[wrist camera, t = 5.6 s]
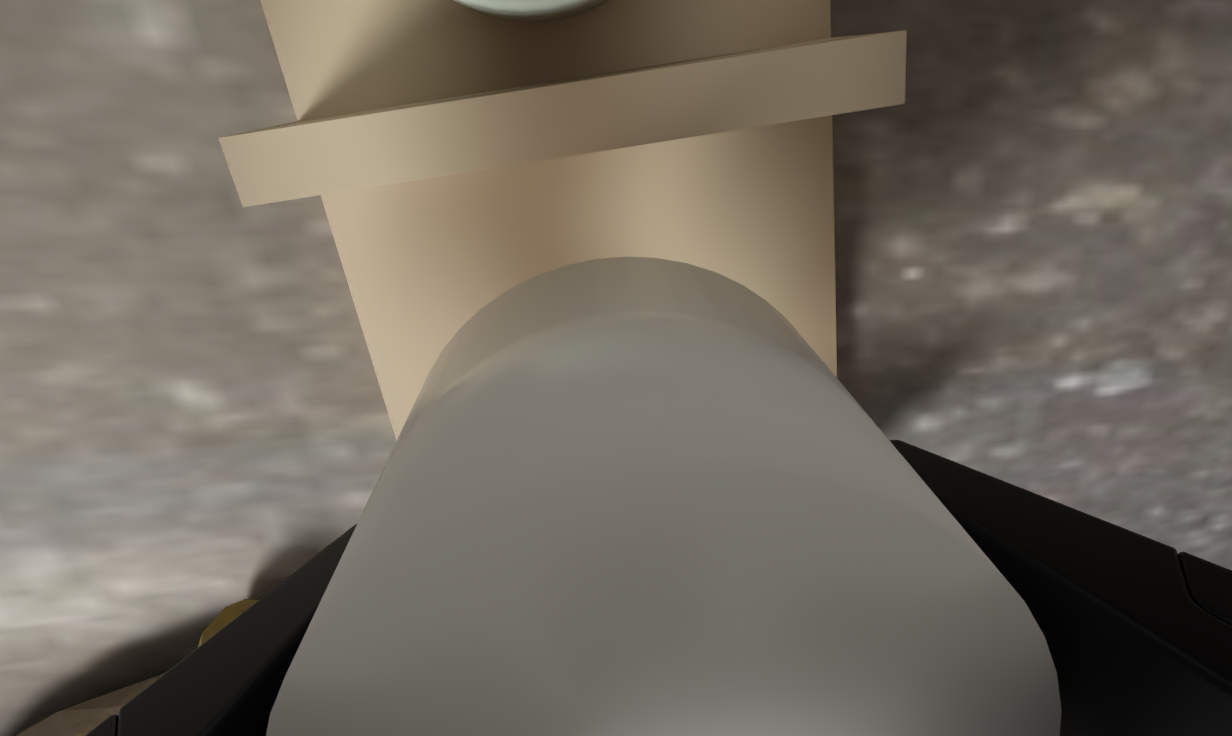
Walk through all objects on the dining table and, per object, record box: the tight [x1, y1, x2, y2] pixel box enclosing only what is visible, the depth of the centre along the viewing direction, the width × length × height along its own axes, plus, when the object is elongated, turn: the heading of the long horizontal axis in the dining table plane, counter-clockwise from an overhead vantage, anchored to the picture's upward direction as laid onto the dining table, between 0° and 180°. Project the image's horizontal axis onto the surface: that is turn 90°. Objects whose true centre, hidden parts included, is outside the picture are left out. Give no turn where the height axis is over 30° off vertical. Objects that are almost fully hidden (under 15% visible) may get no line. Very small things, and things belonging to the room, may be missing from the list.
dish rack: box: [218, 0, 907, 440], centre depth 12 cm, size 10×19×4 cm, turn 8°
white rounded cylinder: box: [266, 257, 1061, 736], centre depth 8 cm, size 6×6×5 cm
